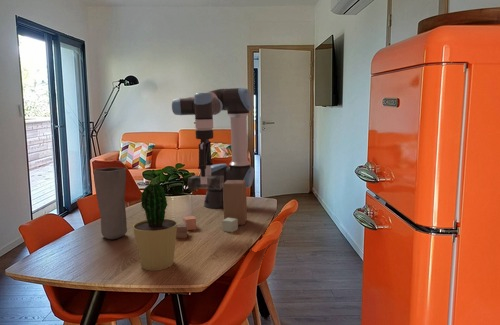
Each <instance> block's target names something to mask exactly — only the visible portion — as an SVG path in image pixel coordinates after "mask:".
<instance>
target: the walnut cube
mask: <svg viewBox="0 0 500 325" xmlns="http://www.w3.org/2000/svg"><path fill="white" fill-rule="evenodd" d="M187 237H188V230H187V223H185V224H183V223H177V232H176V239H187Z"/></svg>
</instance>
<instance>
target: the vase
mask: <svg viewBox="0 0 500 325" xmlns="http://www.w3.org/2000/svg"><path fill="white" fill-rule="evenodd" d="M93 180H94V181H93V183H94V188H95V195H96V200H97V207H98V210H99V215H100V228H101V229H100V230H101V235H102V236H103V238H105V239H108V240H116V239H120V238H123V237H125V235H126V234H127V232H128V227H127V226H128V222H127V213H126V212H127V211H126V202H125V196H126V185H127V184H126V183H127V182H126V181H127V169H126V167H103V168H96V169H93Z"/></svg>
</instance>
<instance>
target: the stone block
mask: <svg viewBox="0 0 500 325" xmlns="http://www.w3.org/2000/svg"><path fill="white" fill-rule="evenodd" d="M223 187H224V176H207V184H201V180H200V175H192V176H190V177H187V189H189V190H200V189H204V190H207V189H213V190H214V189H217V190H221V189H222V188H223Z"/></svg>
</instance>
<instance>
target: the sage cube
mask: <svg viewBox="0 0 500 325" xmlns="http://www.w3.org/2000/svg"><path fill="white" fill-rule="evenodd" d="M221 222H222V225H221V226H222V232H228V233H234V232H235V231H237V230H238V228H239V225H238V219H235V218H226V219H224V218H223V219H222V220H221Z"/></svg>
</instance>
